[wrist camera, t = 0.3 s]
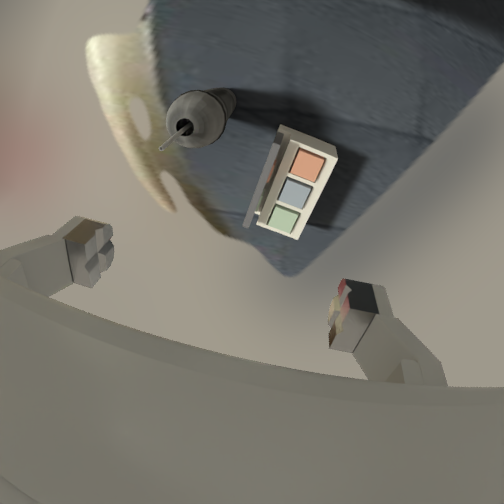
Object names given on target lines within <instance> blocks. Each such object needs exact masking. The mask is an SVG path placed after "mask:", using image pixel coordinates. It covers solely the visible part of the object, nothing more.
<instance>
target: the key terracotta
mask: <svg viewBox="0 0 504 504" xmlns="http://www.w3.org/2000/svg"><path fill="white" fill-rule="evenodd" d="M323 162H324V157H323V156H320V155H318V154H315V153H313V152H311V151H308V150H306V149H303V148H301V147H300V148H299V150H298V153H297V155H296V157H295V160H294V162H293V165H292V167H291V172H290V173H292V174H295V175H297V176H300V177H302V178H305V179H307V180H310V181H312V182H315V179H316V177H317V175H318V173H319V171H320V169H321V167H322V165H323Z"/></svg>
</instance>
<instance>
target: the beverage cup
mask: <svg viewBox="0 0 504 504" xmlns="http://www.w3.org/2000/svg"><path fill="white" fill-rule="evenodd" d="M235 106H236V97H235V95H234V94H233V92H232V91H230V90H229V89H226V88H213V89H208V90H204V91H201V90H191V91H188V92H185V93H183V94H181V95H180V96H179V97H178V98H177V99H176V100H175V101H174V102H173V103H172V105H171V106H170V108H169V110H168V113H167V118H166V125H167V130H168V132H169V134H170V136H171V138H170V139H168V140H167V141H166V142H165V143H164V144H162V145H161V146H160V147H159V150H160V151H163V150H164V149H165V148H166V147H168V146H169V145H170V144H171V143H172V142H173V141H175V142H177V143H178V144H180V145H182V146H184V147H188V148H201V147H204V146H207V145H209V144H212V143H214V142H215V141H216V140H218V139H219V138H220V136H221V135H222V133H223V132H224V130H225V126H226V122H227V120H228V118H229V117H230V115H231V114H232V112H233V111H234V108H235Z"/></svg>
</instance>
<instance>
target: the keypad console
mask: <svg viewBox="0 0 504 504" xmlns="http://www.w3.org/2000/svg"><path fill="white" fill-rule="evenodd" d="M300 147H301V148H303V149H306V150H308V151H311V152H313V153H315V154H318V155H320V156H323V157H324V162H323V165H322V167H321V169H320V171H319V173H318V175H317V177H316V179H315V182H312V181H310V180H307V179H305V178H302V177H300V176H297V175H295V174H292V173H290V172H291V167H292V165H293V162H294V160H295V157H296V155H297V153H298V150H299V148H300ZM337 160H338V156H337V152H336V147H335V146H333V145H331V144H329V143H326V142H324V141H322V140H319V139H317V138H314V137H312V136H309V135H307V134H304V133H302V132H299V131H297V130H294V129H291V128H289V127H286V126H284V125H281V124H280V126H279V129H278V131H277V134H276V137H275V139H274V142H273V145H272V147H271V150H270V152H269V155H268V158H267V160H266V163H265V166H264V168H263V171H262V174H261V176H260V179H259V182H258V184H257V187H256V190H255V193H254V195H253V198H252V201H251V203H250V206H249V209H248V212H247V214H246V217H245V220H244V222H243V225H242V226H243V227H245V228H249V226H250V223H251V220H252V218H253V215H254V213H256V214H259V217H258V221H257V224H256V225H259V226H262V227H265V228H267V229H270V230H273V231H275V232H278V233H281V234H283V235H286V236H289V237H291V238H294V239H297V240H298V238H299V236H300V234H301V232H302V230H303V228H304V226H305V224H306V222H307V220H308V218H309V216H310V214H311V212H312V210H313V208H314V206H315V204H316V202H317V200H318V198H319V196H320V194H321V192H322V190H323V188H324V186H325V184H326V182H327V180H328V178H329V176H330V174H331V172H332V170H333V168H334V166H335V164H336V162H337ZM287 176H288V177H290V178H293V179H295V180H298V181H301V182H303V183H306V184H308V185H311V190H310V192H309V194H308V196H307V198H306V201H305V203H304V205H303V207H302V209H300V208H297V207H295V206H292V205H289V204H287V203H284V202H282V201H279V196H280V193H281V191H282V188H283V186H284V184H285V181H286V179H287ZM276 204H279V205H282V206H284V207H287V208H290V209H292V210H295V211H297V212H299V214H298V217H297V219H296V221H295V223H294V225H293V228H292V230H291V232H290V234H289V233H287V232H284V231H281V230H279V229H276V228H273V227H271V226H268V223H269V219H270V217H271V214H272V212H273V210H274V207H275V205H276Z"/></svg>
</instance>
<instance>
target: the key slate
mask: <svg viewBox="0 0 504 504" xmlns="http://www.w3.org/2000/svg"><path fill="white" fill-rule="evenodd" d="M310 190H311V185H308V184H306V183H303V182H301V181H298V180H295V179H293V178H290V177H288V176H287V179H286V181H285V184H284V186H283V188H282V191H281V193H280V196H279V201H282V202H284V203H287V204H289V205H292V206H295V207H297V208H300V209H302V207H303V205H304V203H305V201H306V198H307V196H308V194H309V192H310Z"/></svg>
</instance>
